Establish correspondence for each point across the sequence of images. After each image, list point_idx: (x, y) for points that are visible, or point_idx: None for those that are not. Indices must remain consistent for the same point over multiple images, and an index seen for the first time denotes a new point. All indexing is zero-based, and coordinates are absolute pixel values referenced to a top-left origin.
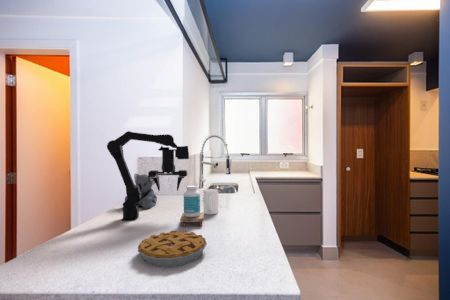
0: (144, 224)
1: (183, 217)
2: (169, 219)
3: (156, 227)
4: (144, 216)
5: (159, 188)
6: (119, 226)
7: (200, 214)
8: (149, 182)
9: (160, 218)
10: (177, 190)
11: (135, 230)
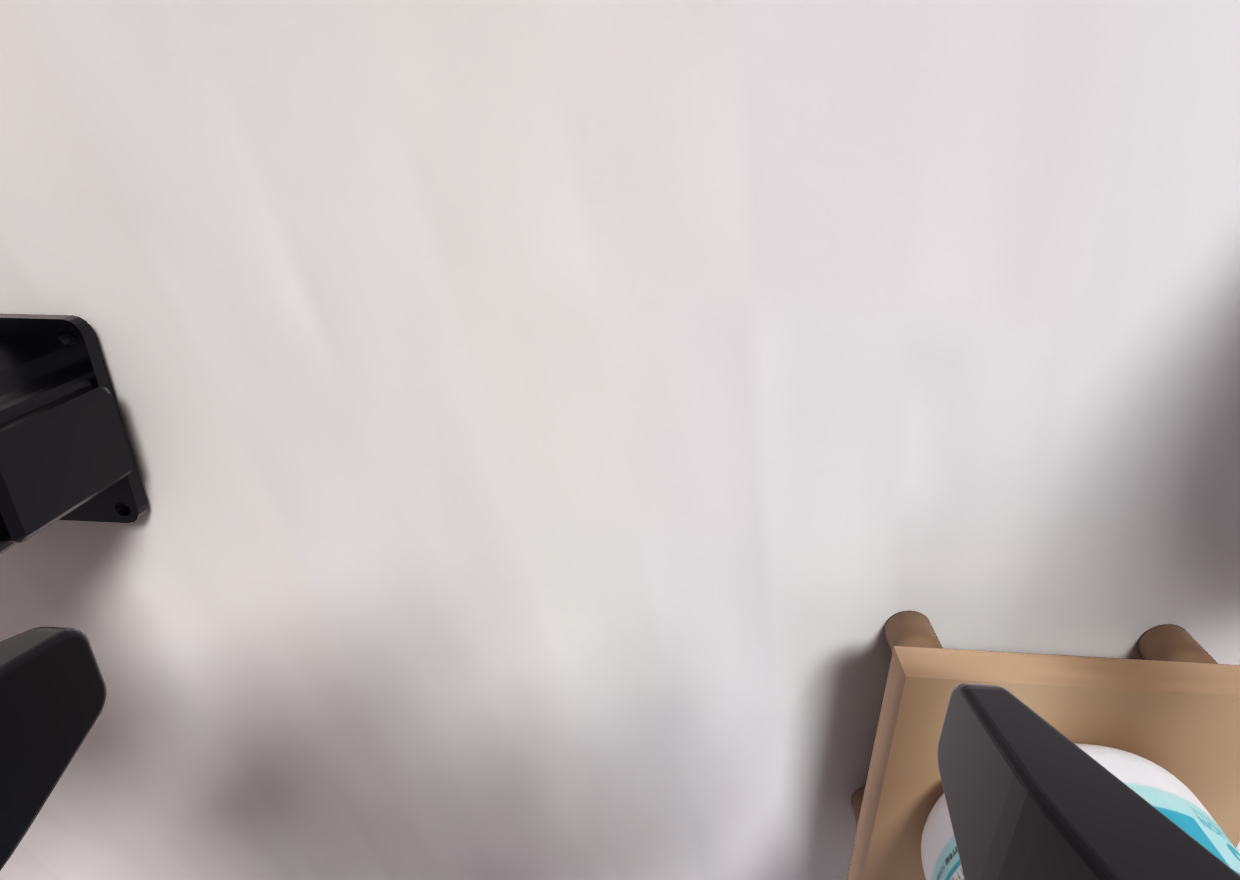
0: (369, 686)
1: (903, 874)
2: (658, 520)
3: (553, 795)
4: (178, 301)
5: (14, 762)
6: (112, 715)
7: (1209, 782)
8: None
9: (500, 451)
10: (953, 754)
11: (360, 842)
